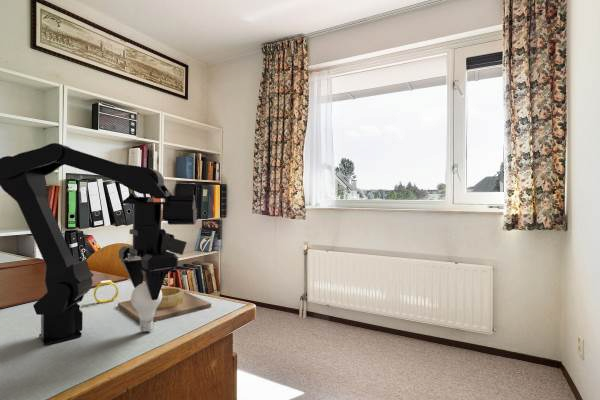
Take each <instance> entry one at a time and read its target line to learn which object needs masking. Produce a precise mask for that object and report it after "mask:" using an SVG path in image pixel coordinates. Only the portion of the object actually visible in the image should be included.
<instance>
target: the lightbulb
mask: <svg viewBox="0 0 600 400" xmlns="http://www.w3.org/2000/svg"><path fill="white" fill-rule="evenodd" d="M130 295H131V296H130V300H131V303H132V305H133V307H134V308H135V309H136V311H137V312H138V316H139V319H140V322H139V323H140V324H139V331H140V332H142V333H149V332H150V331H152V330H153V329H154V322H153V317H154V315H155V311H156V309H157V307H158V306H159V304H160V302H161V300H162V290H160V293H159V296H158V299H157V300H152V299H151V296H150V294H149V291H148V288H147V285H146V282H145V281H143V283H141V284H139V285H138V286H137V287H135V288H134V289H133V290H132V292H131V294H130Z"/></svg>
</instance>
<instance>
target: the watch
mask: <svg viewBox="0 0 600 400" xmlns="http://www.w3.org/2000/svg"><path fill="white" fill-rule="evenodd" d="M107 285H112V286H114V288H115V291H116V292H115V295H114V296H113V297H112V298H110V299H105V300H104V299H103V300H101V299H98V298H97V296H96V295H97V290H98V289H99V288H100V287H101V286H107ZM118 295H119V287H118V286H117V285H116V283H114V282H113V281H112V280H111V279H107V280H101V281H100V283H99V284H97V285H96V286H95V288H94V289H93V297H94V299H95V301H96V302H97V303H99V304H104V303H109V302H113V301H114V300H115V299H117V297H118Z"/></svg>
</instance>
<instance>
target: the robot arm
mask: <svg viewBox="0 0 600 400" xmlns="http://www.w3.org/2000/svg"><path fill="white" fill-rule="evenodd" d="M64 165H66V166H68V167H71V168H74V169H77V170H78V169H79V170H81V171H84V172H88V173H92V174H95V175H98V176H101V177H105V178H108V179H110V180H113V181H115V182H117V183H119V184H120V185H122V186H124V187H126V188H128V189H129V190H132V191H134V192H136V193H133V192H132V193H129V195H128V196H127V197H126V198H125V199H123V200H122V204H124V205H132V228H131V229H129V234H130V235H132V244H131V245H123V246H122V247H121V248H120V249H119V250H118V259H119V260H120V262H121V264H122V265H123V268H124V269H125V272H126V274H127V275H128V277H129V279H130V282H131V283H132V286H133V288H134V289H135V287H137V286H138V285H139V284H141V283H144V282H146V285H147V288H148V291H149V294H150V296H151V299H152V300H157V299H158V296H159V293H160V290H161V288H163V284H164V282H165V279H166V276H167V275H168V274H169V273H170V272H171V271H174V270H175V269H176V268H177V267H179V256H177V255H176V254H178V255H180V256H183V255H184V251H185V248H186V247H187V243H188V242H187V241H185V240H180V239H178V238H175V235H174V234H171V233H167V232H166V230H165V228H162V219H163V221H165V222H167V224H168V225H169V226H170V225H173V226H174V225H175V226H176V225H177V226H178V225H180V226H182V225H191V226H193V225H194V226H195V225H196V224H197V215H198V214H197V213H198V212H197V211H198V209H197V206H196V195H194V194H185V195H173V194H172V193H171V191H170V190H169V189H168V188H167V186H166V185H165V180H164V176H163V175H162V173H161V172H159V171H158V170H156V169H153V168H150V167H145V166H140V165H131V164H125V163H124V164H123V163H119V162H114V161H112V160H108V159H105V158H102V157H99V156H97V155H92V154H89V153H86V152H83V151H80V150H76V149H73V148H71V147H70V146H68V145H64V144H61V143H56V142H52V143H49V144H47V145H44V146H42V147H39V148H36V149H31V150H27V151H24V152H20V153H17V154H15V155H13V156H11V155H7V156H6V155H5V156H2V157H0V187H1V189H2V190H3V192H5V193H6V194H7V195H8V196H10V197H11V198H12V199H13V201H16V203H17V205H18V208H19V209H20V211H21V214H22V215H23V218H24V220H25V223H26V224H27V226H28V229H29V231H30V233H31V236H32V238H33V240H34V242H35V244H36V247H37V249H38V252H39V253H40V255H41V257H42V260H43V262H44V263H45V273H44V285H45V287H46V288H45V289H46V293H45V294H44V295H43V296H42V297H40V298H39V299H38V300H37V301H36V302H35V303H33V309H34V311H35V313H36V315H37V316H39V315H40V333H39V335H38V336H39V339H40V341H41V343H42V345H43V346H46V345H52V344H55V343H60V342H64V341H67V340H72V339H76V338H79V337H82V335H83V333H82V331H83V314H84V313H83V311H82V310H81V309H80V305H79V303H80V302H82V301H83V299H84V297H85V295H86V294H87V293H89V291H90V290H91V288H92V286H93V282H94V281H93V279H92V277H94V276H95V275H94V273H93V272H92V271H91V270H90V268H89V263H88V261H87V259H83V260H80V261H78V260H77V259H76V258H75V257H74V256H73V254H72V253H71V250H70V248H69V245H68V244H67V242H66V240H65V237H64V235H63V233H62V231H61V228H60V225H59V224H58V222H57V219H56V218H55V215H54V213H53V210H52V208H51V206H50V204H49V201H48V199H47V197H46V190H47V180H46V176H48V175H51V174H53V173H55V172H56V171H57V170H59V168H61V167H63V166H64ZM137 194H143V195H150V196H138V195H137ZM153 199H159V200H161V199H163V200H164V201H153Z"/></svg>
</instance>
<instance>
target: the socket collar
mask: <svg viewBox="0 0 600 400" xmlns="http://www.w3.org/2000/svg"><path fill="white" fill-rule="evenodd" d="M161 290H162V300H161V302H160V304H159V306H158V307H157V309H166V308H171V307H175V306H178V305H180V304H182V303H183V301H184V292H185V290H184V289H182V288H180V287H173V286H171V287H169V286H168V287H161Z"/></svg>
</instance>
